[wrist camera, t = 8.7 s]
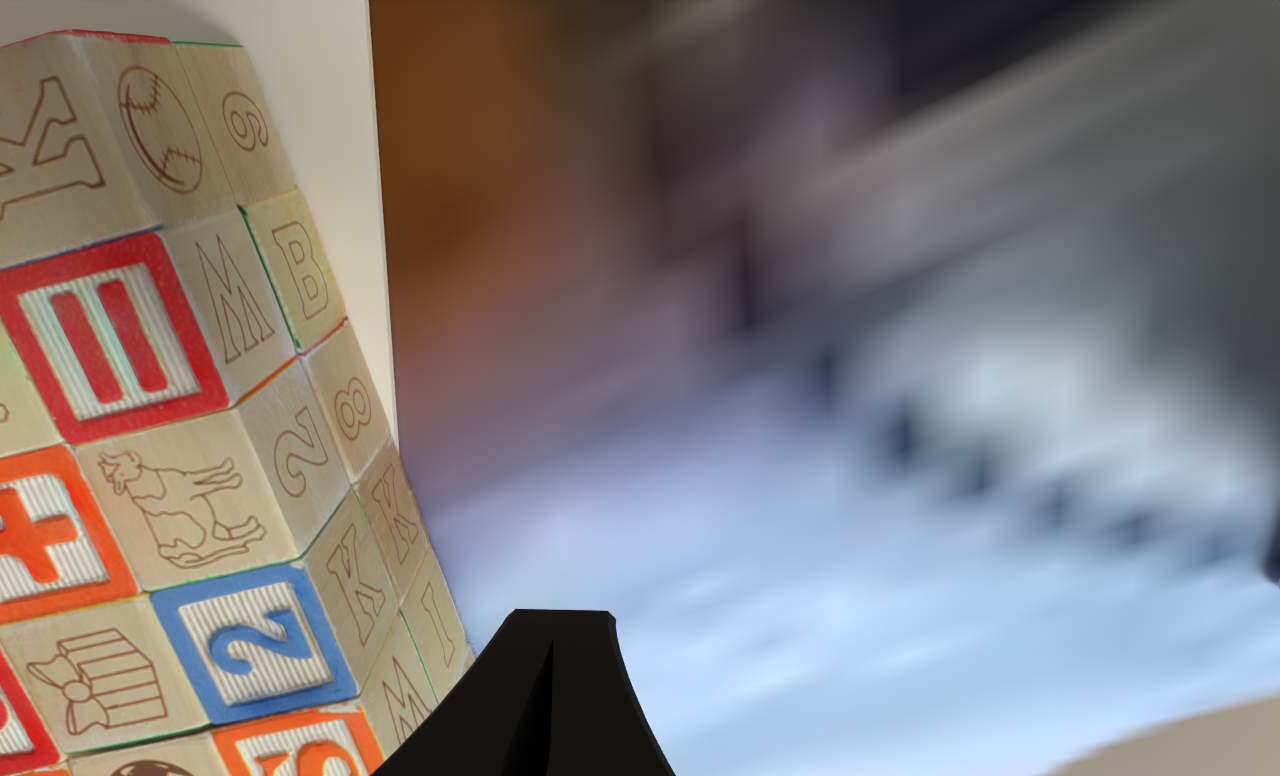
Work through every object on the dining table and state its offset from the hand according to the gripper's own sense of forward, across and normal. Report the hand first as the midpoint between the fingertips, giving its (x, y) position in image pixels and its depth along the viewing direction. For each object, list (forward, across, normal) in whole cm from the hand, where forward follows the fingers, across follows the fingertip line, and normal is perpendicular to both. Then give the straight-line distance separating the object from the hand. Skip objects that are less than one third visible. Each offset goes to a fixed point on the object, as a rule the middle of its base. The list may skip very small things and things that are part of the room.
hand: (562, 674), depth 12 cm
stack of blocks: (+7, +4, +2) cm, 8 cm away
